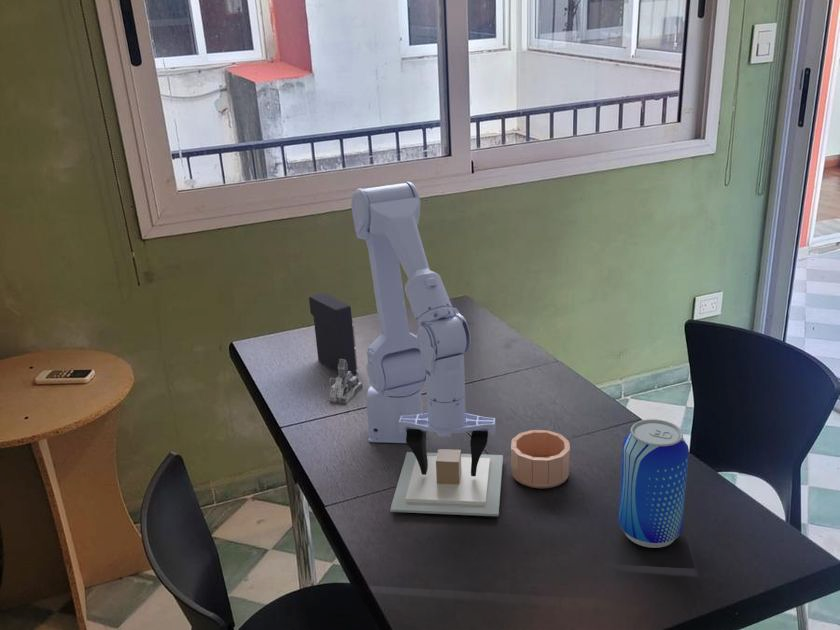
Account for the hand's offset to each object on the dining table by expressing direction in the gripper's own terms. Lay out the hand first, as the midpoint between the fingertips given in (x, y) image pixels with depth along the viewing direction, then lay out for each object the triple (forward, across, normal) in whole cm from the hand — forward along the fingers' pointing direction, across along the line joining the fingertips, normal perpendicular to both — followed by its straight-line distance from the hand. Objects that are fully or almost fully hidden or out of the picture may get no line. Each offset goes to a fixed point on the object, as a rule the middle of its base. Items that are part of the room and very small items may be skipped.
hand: (449, 472), depth 121 cm
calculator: (+2, -28, +41) cm, 50 cm away
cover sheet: (+2, 0, 0) cm, 2 cm away
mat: (+2, 0, 0) cm, 2 cm away
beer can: (+2, +29, -10) cm, 31 cm away
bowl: (+2, +14, +4) cm, 15 cm away
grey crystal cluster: (+2, -26, +31) cm, 40 cm away
